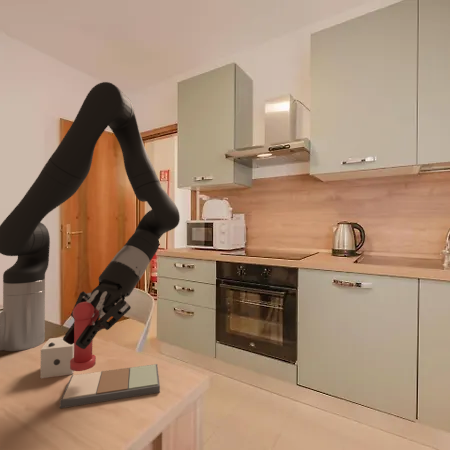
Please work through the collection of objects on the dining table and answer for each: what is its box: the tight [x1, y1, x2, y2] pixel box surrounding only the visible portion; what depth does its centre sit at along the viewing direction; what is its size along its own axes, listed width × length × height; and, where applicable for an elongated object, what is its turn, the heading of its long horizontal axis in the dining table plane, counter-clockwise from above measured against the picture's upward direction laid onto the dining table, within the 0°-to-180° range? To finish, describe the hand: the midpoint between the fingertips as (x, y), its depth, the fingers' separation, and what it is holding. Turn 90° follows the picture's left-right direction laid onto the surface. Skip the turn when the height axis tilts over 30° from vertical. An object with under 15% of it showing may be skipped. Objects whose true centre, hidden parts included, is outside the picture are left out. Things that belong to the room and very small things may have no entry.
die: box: [40, 336, 75, 379], centre depth 63 cm, size 6×7×7 cm
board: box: [59, 363, 161, 409], centre depth 56 cm, size 17×9×1 cm, turn 106°
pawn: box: [70, 302, 97, 372], centre depth 55 cm, size 4×4×12 cm
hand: (73, 344), depth 53 cm, fingers closed on pawn, 3 cm apart
